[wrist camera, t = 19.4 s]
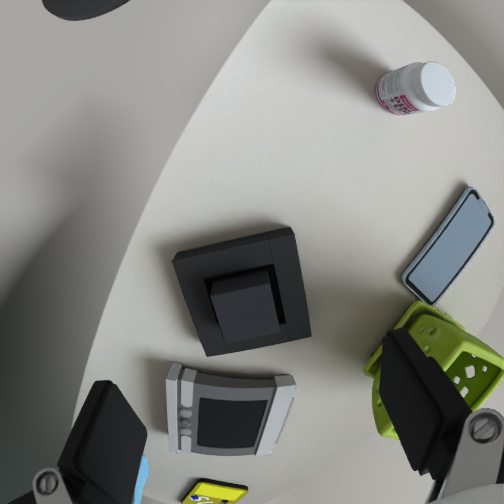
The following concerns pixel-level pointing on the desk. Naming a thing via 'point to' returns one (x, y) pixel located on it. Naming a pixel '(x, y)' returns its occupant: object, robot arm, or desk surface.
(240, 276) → the dark grey square block
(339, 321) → the desk surface
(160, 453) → the desk surface
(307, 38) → the desk surface
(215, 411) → the alarm clock
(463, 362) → the flower pot
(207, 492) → the game console
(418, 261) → the smartphone
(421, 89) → the pill bottle
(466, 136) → the desk surface
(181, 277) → the base pad
